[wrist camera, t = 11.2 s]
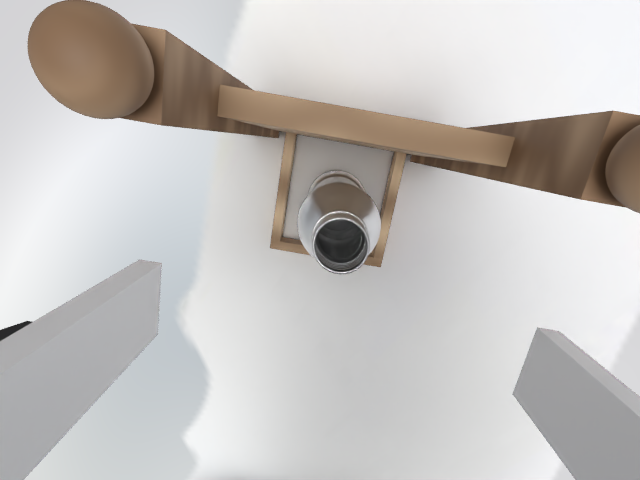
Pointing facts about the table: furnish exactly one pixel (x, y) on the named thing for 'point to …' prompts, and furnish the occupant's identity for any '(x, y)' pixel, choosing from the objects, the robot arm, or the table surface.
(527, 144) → the headboard holder
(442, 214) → the table surface
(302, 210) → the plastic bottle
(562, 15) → the table surface
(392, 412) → the table surface
